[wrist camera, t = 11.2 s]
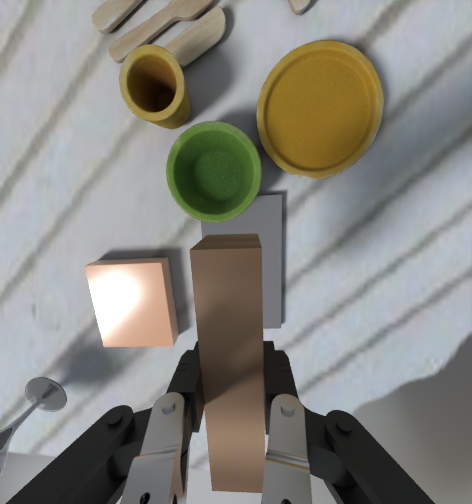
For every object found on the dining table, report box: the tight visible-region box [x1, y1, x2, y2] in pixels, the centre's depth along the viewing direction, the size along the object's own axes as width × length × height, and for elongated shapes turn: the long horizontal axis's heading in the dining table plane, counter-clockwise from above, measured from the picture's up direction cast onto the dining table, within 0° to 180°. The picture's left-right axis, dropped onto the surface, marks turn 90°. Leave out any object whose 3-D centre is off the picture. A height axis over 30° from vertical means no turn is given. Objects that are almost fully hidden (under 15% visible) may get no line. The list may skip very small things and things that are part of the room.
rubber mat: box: [201, 195, 282, 328], centre depth 29 cm, size 18×10×1 cm, turn 2°
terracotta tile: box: [85, 257, 179, 347], centre depth 30 cm, size 3×10×12 cm
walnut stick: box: [190, 233, 265, 493], centre depth 13 cm, size 14×3×4 cm, turn 2°
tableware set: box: [92, 0, 384, 222], centre depth 19 cm, size 41×28×6 cm
